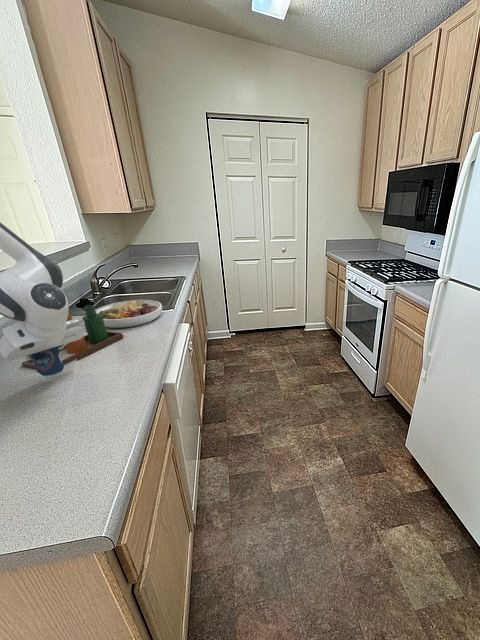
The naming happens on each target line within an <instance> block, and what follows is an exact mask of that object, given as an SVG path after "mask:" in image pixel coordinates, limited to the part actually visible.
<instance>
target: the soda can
mask: <svg viewBox="0 0 480 640" xmlns="http://www.w3.org/2000/svg"><path fill="white" fill-rule="evenodd" d="M32 356H33V358H32V360H33V362H34V363H33V364H34V365H35V367H36V369H35V370H36V371H37V373H38V374H39V375H41V376H43V377H51V376H55V375H58V374H60V373H62V372H63V371H64V367H65V364H64V363H63V361H62V360H63V358H62V356H61V353H60V351H59V350H58V347H53V348H50V349H47V350H44V351H40V352H37V353H34V354H32Z"/></svg>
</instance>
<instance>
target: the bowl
mask: <svg viewBox="0 0 480 640" xmlns="http://www.w3.org/2000/svg"><path fill="white" fill-rule="evenodd" d="M95 311H96V314H97V313H98V314H102V317H103V320H104V324H105V327H106V328H110V329H111V328H112V329H113V328H114V329H121V328H122V329H123V328H130V327H131V328H132V327H137V326H141V325H144V324H147V323H150V322H152V321H154V320H156V319H157V318H159V317H160V316H161V314H162V312H163V305H162V303H161V302H159V301H156V300H151V299H132V300H124V301H119V302H114V303H110V304H106V305H103V306H101V307H98V308H97V309H96V308H95Z"/></svg>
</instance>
